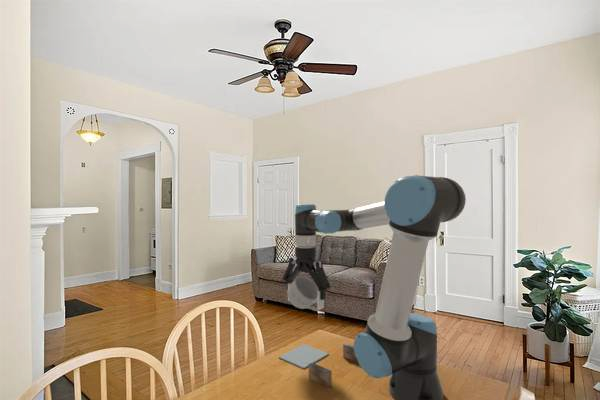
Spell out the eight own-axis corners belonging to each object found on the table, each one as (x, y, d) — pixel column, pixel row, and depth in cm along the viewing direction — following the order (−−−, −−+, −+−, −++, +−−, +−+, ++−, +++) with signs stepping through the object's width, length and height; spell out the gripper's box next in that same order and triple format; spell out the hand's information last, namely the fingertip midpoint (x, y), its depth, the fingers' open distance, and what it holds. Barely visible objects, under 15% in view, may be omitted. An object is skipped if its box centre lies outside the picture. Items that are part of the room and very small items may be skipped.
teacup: (278, 290, 122) (290, 278, 119) (296, 284, 131) (308, 271, 127) (299, 324, 117) (313, 311, 113) (317, 315, 125) (330, 303, 122)
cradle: (364, 362, 118) (364, 349, 118) (328, 387, 102) (328, 372, 102) (345, 355, 123) (345, 343, 123) (308, 378, 108) (308, 364, 108)
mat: (328, 354, 124) (328, 353, 124) (303, 369, 114) (303, 367, 114) (304, 345, 132) (304, 344, 132) (278, 358, 122) (278, 356, 122)
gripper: (340, 248, 117) (340, 309, 117) (287, 242, 134) (287, 295, 134) (327, 251, 111) (326, 315, 111) (273, 244, 128) (273, 299, 128)
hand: (305, 304), depth 123 cm, fingers closed on teacup, 13 cm apart
